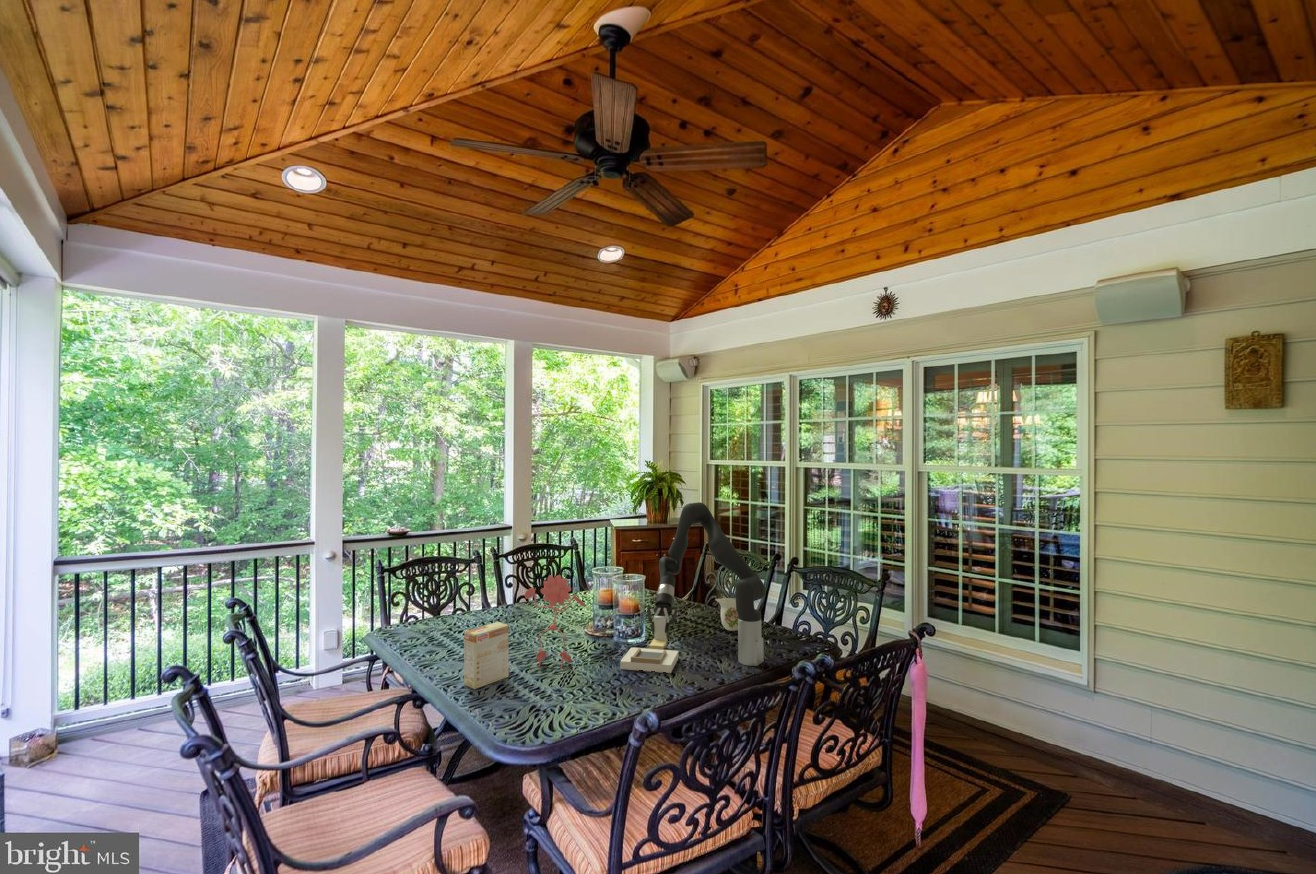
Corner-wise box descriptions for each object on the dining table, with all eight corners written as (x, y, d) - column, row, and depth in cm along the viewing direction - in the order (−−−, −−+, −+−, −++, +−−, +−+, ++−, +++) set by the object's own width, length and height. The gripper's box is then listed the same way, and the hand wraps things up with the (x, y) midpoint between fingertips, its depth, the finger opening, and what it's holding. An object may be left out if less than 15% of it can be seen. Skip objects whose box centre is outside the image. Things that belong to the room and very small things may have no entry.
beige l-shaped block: (653, 644, 252) (653, 615, 252) (668, 645, 251) (667, 616, 251) (648, 651, 243) (648, 621, 243) (663, 652, 242) (663, 622, 242)
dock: (678, 658, 238) (678, 646, 238) (670, 673, 222) (670, 660, 222) (631, 654, 243) (631, 642, 243) (620, 669, 227) (620, 656, 227)
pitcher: (754, 632, 270) (754, 603, 271) (715, 632, 272) (715, 602, 272) (752, 625, 281) (752, 597, 282) (715, 625, 283) (714, 596, 283)
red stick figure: (581, 671, 224) (581, 579, 226) (518, 667, 229) (519, 577, 230) (593, 658, 239) (593, 572, 241) (533, 654, 244) (534, 570, 245)
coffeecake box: (498, 672, 224) (498, 621, 224) (509, 677, 219) (509, 624, 219) (463, 684, 212) (463, 630, 212) (474, 689, 207) (474, 634, 208)
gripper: (648, 591, 260) (641, 626, 248) (679, 592, 257) (674, 628, 245) (651, 600, 265) (644, 635, 253) (682, 601, 262) (677, 637, 250)
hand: (659, 631), depth 249 cm, fingers closed on beige l-shaped block, 5 cm apart
